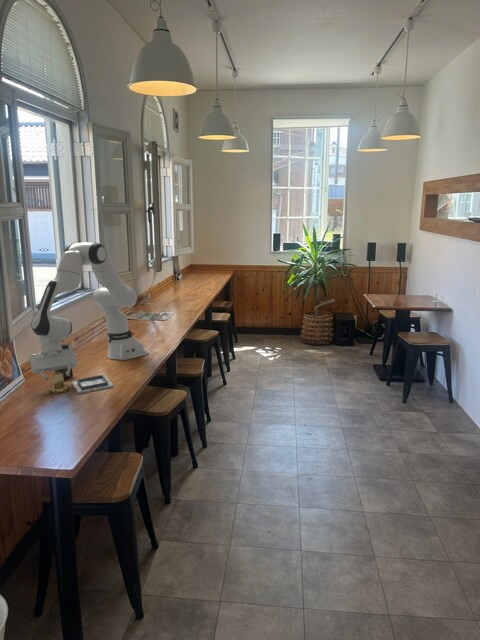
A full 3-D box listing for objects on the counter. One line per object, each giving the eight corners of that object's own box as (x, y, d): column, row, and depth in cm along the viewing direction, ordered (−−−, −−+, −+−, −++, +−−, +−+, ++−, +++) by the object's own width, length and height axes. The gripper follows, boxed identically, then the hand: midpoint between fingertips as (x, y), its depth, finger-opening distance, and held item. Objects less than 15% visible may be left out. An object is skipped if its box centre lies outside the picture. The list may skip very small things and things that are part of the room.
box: (66, 373, 244) (65, 360, 243) (73, 376, 241) (71, 362, 239) (55, 377, 240) (53, 363, 238) (62, 379, 236) (60, 365, 234)
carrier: (105, 377, 237) (105, 372, 237) (113, 387, 224) (113, 382, 223) (72, 383, 230) (71, 379, 230) (78, 394, 216) (77, 389, 216)
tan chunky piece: (68, 385, 227) (66, 369, 225) (71, 391, 220) (69, 374, 218) (48, 389, 223) (46, 373, 221) (50, 395, 216) (48, 378, 214)
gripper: (27, 351, 220) (32, 378, 214) (74, 344, 229) (80, 370, 223) (28, 358, 225) (32, 384, 219) (73, 351, 234) (79, 376, 228)
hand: (57, 377), depth 221 cm, fingers open, 8 cm apart
